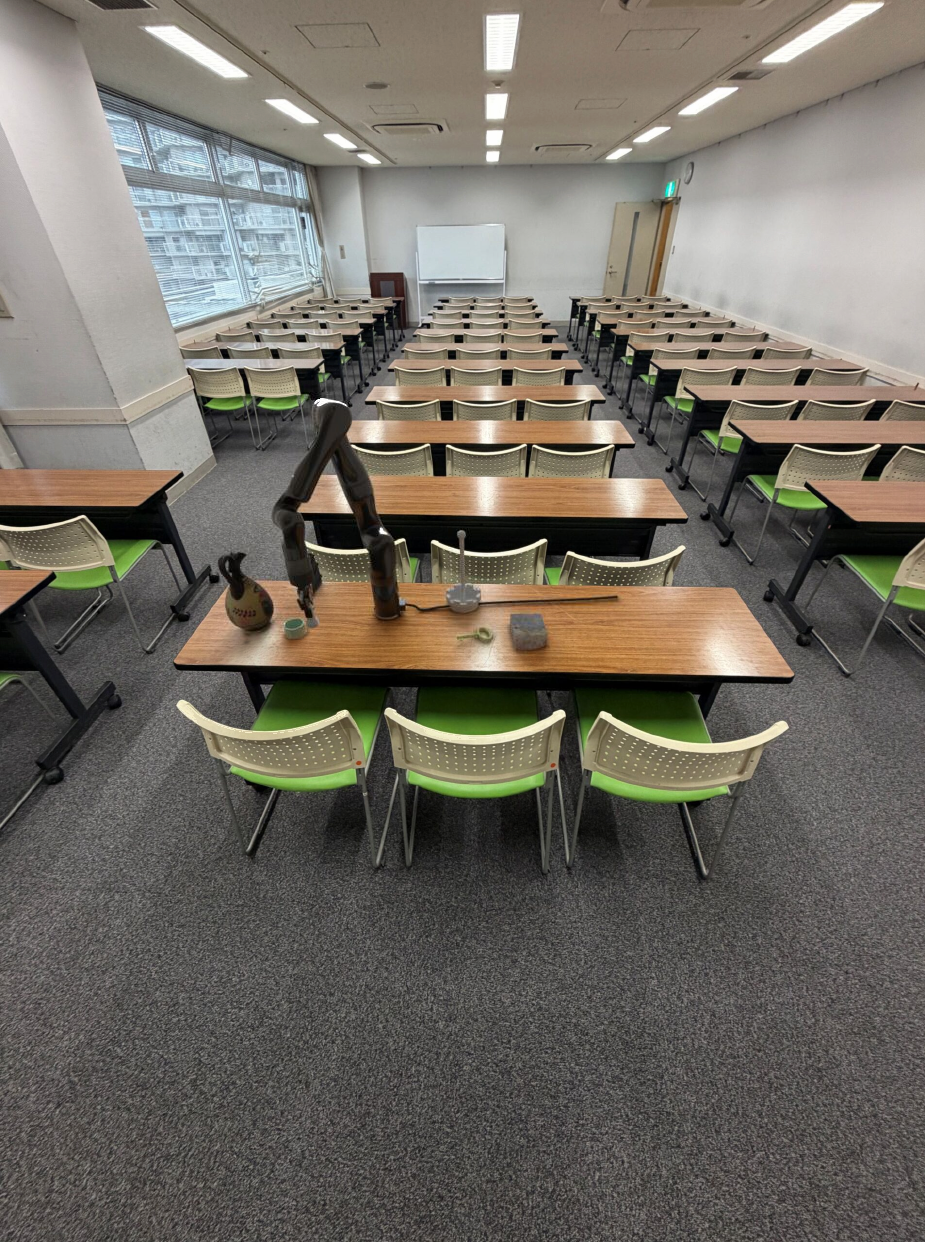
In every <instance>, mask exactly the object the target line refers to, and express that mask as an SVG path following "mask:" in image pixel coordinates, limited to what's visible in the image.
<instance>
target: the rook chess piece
mask: <svg viewBox="0 0 925 1242" xmlns="http://www.w3.org/2000/svg"><path fill="white" fill-rule="evenodd" d="M310 605H311V610H312V614H313V617H312V618H306V619H305V627H306V628H307V629H315V628H317V627H318V626H319V625H320V620H319V618H318V617H317V616H316V614H315V605H314V604H313V605H314V606H313V605H312V604H311V603H310ZM313 608H314V610H313Z"/></svg>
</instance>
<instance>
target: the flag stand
mask: <svg viewBox="0 0 925 1242" xmlns="http://www.w3.org/2000/svg"><path fill="white" fill-rule="evenodd" d="M456 536H457V538H458V539H459V540H458V541H459V565H460V566H459V567H460V568H459V569H460V582H457V583H455V584H453V587H448V588H447V589H446V590H445V600H446V602H447V604H448V605H450V607H449V608H450V609H451V610H452V611H454V612H456V613H460V614H462V613H471V612H473V611H476V609H477V608H478V607H479V605H478V603H479V602H481V599H482V592H481V591H482V590H481V588H480V587H479V586H476V587H475V586H474V584H473V583H470V582H468V583H467V582H466V569H465V567H466V566H465V565H466V564H465V538H466V536H467V534H466V532H465V531H464V530H459V531H457V533H456Z"/></svg>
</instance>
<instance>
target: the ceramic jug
mask: <svg viewBox="0 0 925 1242" xmlns="http://www.w3.org/2000/svg"><path fill="white" fill-rule="evenodd" d="M246 557H247V554H246V553H245V552H242V551H237V552H236V553H235V552H232V551H230V552H229V554H227V553H226V554H223V555H221V556H219V557H218V559H217V567H218V570H219V572H220V574H221V575H222V577H223V578H224V579H225V580H226V582H227V583H228V584H229V585H228V587H227V591H226V594H225V599H224V608H225V612H226V613H225V614H226V616H227V617H228V619H229V621H230V622H231V624H233V625H234V626H235V627H237V628H239V629H242V630H243V631H244V632H245V633H247V634H248V635H251V634H257V633H258V634H259V633H261V632H263V631H266V630H267V629H268V628H269V627H270V626H271V625H272V622H271V621H272V617H273V615H274V612H275V610H274V608H275V605H274V601H273V599H272V597H271V595H270V593H269V592H268V591H267V590H266V589H265V588H264V587H263V586H262V585H261V584H260V583H258V582H257V581H256V580H254V579H253V578H251V577H249V576H248V575H246V574H245V573H244V571H242V569H241V564H242V562H243V560H244V559H245V558H246ZM227 562H228V564H227ZM226 565H227V567H226Z"/></svg>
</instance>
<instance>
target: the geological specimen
mask: <svg viewBox="0 0 925 1242" xmlns="http://www.w3.org/2000/svg"><path fill="white" fill-rule="evenodd" d="M509 616H510V617H509V629H510V631H511V636H512V640H513V645H514V650H515V651H518V652H523V651H531V650H533V651H535V650H537V649H540V648H544V647H547V639H548V631H547V628H546V625H545V621H544V618H543V614H542V613H522V612H521V613H510V614H509Z"/></svg>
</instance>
